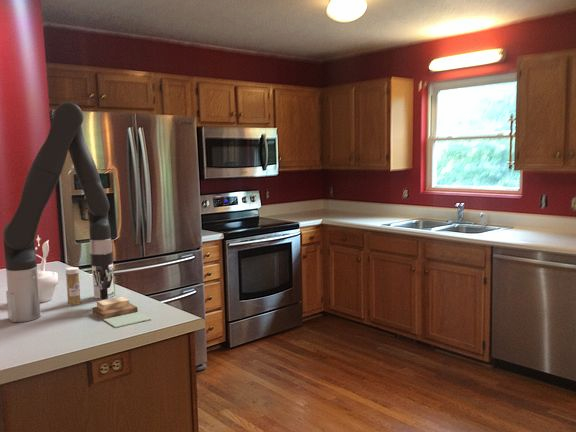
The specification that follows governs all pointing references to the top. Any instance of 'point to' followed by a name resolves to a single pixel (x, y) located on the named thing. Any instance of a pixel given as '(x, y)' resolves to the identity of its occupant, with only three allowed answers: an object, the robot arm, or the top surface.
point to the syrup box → (110, 290)
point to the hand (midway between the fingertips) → (104, 298)
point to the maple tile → (112, 303)
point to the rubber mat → (127, 319)
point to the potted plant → (46, 277)
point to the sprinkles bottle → (73, 285)
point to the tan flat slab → (114, 311)
